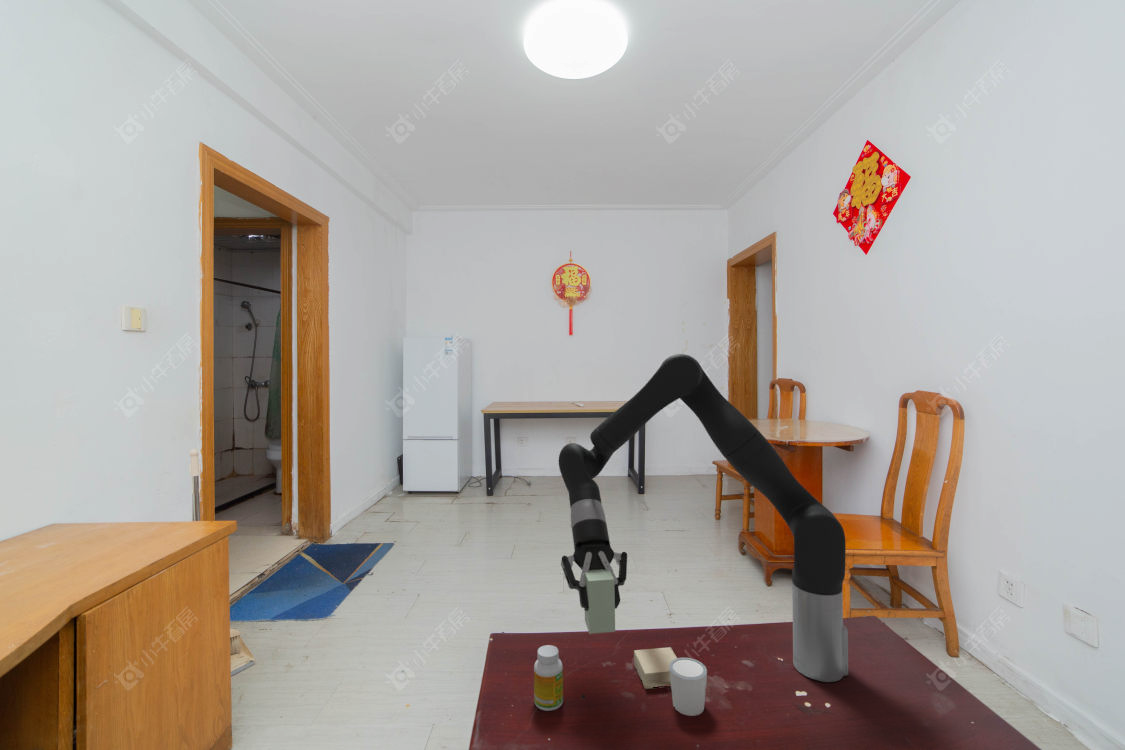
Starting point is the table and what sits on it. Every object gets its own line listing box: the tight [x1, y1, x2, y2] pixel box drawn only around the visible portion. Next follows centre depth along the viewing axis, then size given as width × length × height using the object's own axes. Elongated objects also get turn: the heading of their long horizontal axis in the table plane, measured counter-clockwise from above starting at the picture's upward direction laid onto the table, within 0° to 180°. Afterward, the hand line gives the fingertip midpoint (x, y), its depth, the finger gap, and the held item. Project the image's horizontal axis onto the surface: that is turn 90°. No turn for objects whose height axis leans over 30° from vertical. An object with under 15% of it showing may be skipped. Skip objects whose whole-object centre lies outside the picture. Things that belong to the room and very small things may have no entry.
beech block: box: [633, 646, 678, 690], centre depth 100 cm, size 8×8×3 cm
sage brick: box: [584, 569, 616, 635], centre depth 95 cm, size 5×5×10 cm
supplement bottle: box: [533, 644, 564, 712], centre depth 92 cm, size 5×5×10 cm
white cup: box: [669, 657, 708, 717], centre depth 90 cm, size 7×7×7 cm
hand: (601, 607), depth 93 cm, fingers closed on sage brick, 5 cm apart
